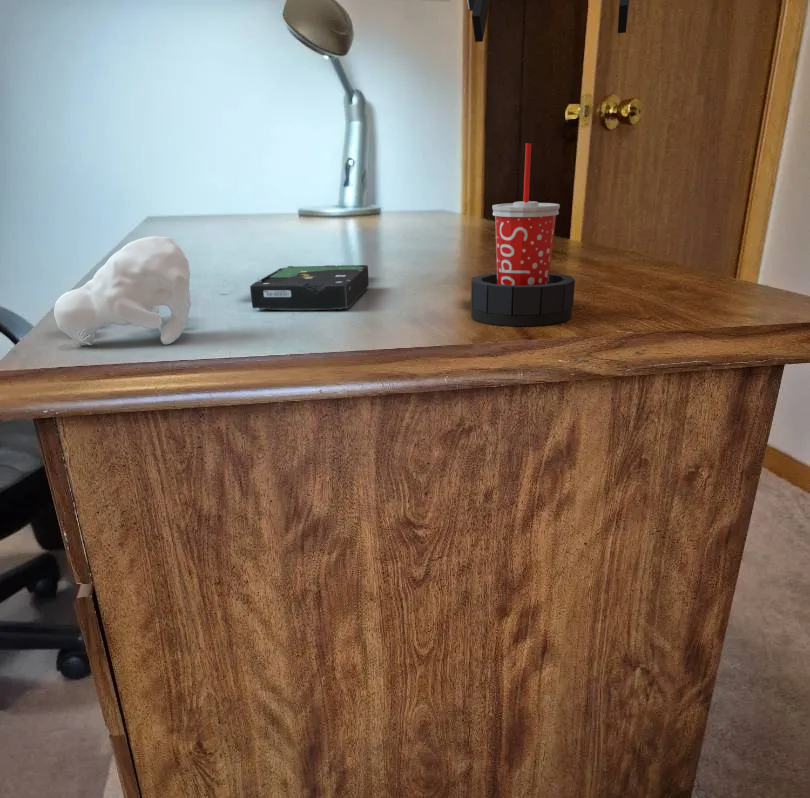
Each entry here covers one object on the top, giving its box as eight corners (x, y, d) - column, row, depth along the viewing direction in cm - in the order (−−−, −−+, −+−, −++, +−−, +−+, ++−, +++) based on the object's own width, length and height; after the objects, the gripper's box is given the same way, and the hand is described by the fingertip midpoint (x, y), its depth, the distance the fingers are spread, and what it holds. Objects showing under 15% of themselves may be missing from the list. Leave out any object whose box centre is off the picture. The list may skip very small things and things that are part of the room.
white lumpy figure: (183, 235, 65) (30, 258, 62) (207, 339, 69) (64, 364, 66) (179, 229, 70) (39, 250, 68) (202, 325, 74) (69, 348, 72)
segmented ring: (592, 318, 75) (595, 280, 73) (508, 330, 71) (509, 290, 69) (531, 304, 82) (533, 268, 81) (452, 314, 78) (452, 277, 77)
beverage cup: (476, 304, 77) (479, 144, 71) (525, 297, 80) (532, 143, 74) (517, 314, 72) (524, 143, 66) (567, 306, 75) (578, 142, 69)
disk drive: (350, 313, 81) (369, 287, 94) (348, 284, 80) (368, 262, 93) (251, 313, 82) (284, 288, 95) (248, 285, 81) (282, 263, 94)
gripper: (694, -104, 81) (681, 52, 75) (457, -80, 87) (427, 66, 81) (705, -190, 74) (692, -26, 68) (446, -157, 80) (413, -4, 74)
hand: (548, 24), depth 75 cm, fingers open, 13 cm apart
